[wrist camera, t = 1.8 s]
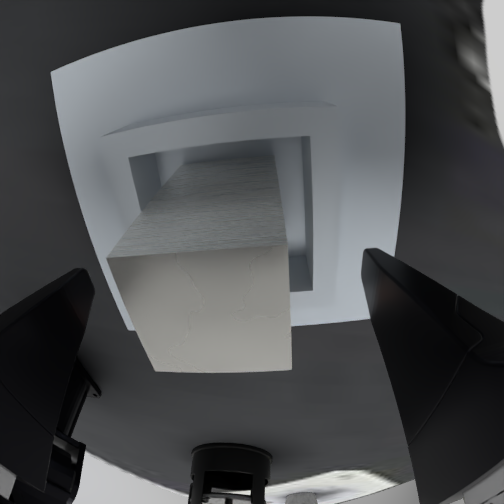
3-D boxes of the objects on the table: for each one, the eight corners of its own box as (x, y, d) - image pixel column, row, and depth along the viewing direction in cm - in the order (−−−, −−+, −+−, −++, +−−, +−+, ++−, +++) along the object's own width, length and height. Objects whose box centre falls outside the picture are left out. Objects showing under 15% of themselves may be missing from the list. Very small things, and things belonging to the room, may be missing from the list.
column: (281, 250, 15) (291, 381, 9) (199, 255, 15) (161, 382, 9) (274, 155, 13) (287, 244, 6) (181, 165, 13) (105, 257, 6)
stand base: (380, 311, 18) (399, 361, 14) (130, 324, 19) (110, 372, 16) (395, 25, 10) (441, 11, 6) (56, 71, 11) (1, 78, 7)
